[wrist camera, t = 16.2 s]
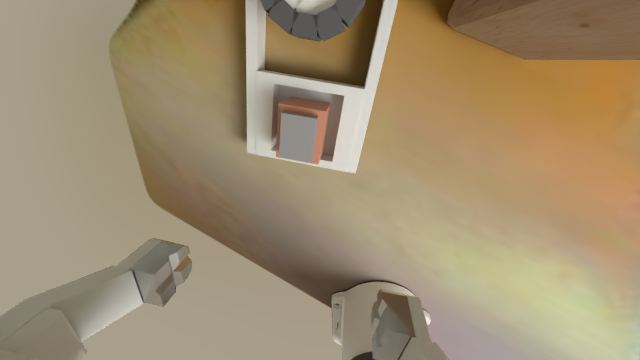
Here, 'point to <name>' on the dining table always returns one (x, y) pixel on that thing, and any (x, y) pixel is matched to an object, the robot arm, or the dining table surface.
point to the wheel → (313, 16)
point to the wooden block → (553, 27)
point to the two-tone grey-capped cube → (301, 129)
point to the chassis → (310, 95)
